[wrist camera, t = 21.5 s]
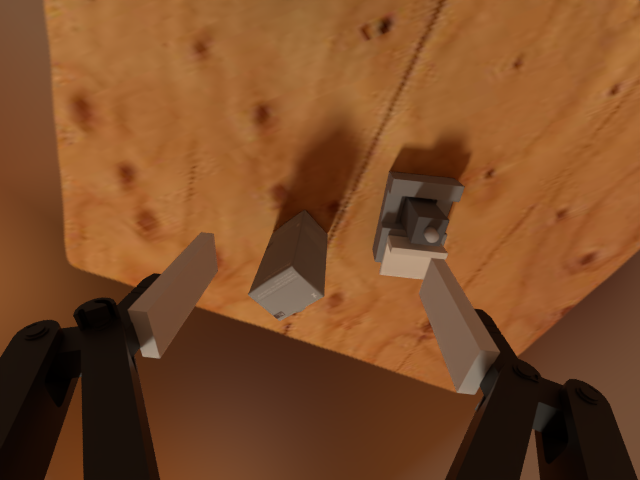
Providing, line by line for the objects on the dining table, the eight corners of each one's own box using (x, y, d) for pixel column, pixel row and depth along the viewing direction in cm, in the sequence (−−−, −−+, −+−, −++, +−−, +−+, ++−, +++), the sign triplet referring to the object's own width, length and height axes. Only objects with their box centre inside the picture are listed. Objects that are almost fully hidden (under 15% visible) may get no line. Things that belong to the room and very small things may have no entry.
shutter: (388, 235, 43) (392, 247, 40) (439, 240, 43) (447, 253, 40) (379, 271, 46) (382, 286, 43) (426, 277, 46) (433, 291, 43)
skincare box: (305, 207, 46) (290, 259, 32) (331, 237, 49) (328, 297, 35) (269, 234, 49) (241, 292, 35) (295, 261, 52) (279, 325, 38)
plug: (405, 195, 43) (421, 221, 35) (431, 198, 43) (453, 225, 35) (399, 218, 45) (413, 248, 37) (424, 221, 45) (443, 252, 37)
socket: (389, 171, 42) (393, 178, 39) (454, 178, 42) (464, 186, 39) (372, 249, 49) (374, 261, 46) (428, 255, 49) (435, 268, 46)
